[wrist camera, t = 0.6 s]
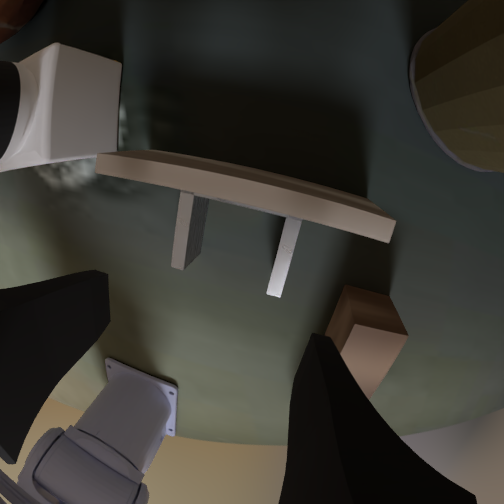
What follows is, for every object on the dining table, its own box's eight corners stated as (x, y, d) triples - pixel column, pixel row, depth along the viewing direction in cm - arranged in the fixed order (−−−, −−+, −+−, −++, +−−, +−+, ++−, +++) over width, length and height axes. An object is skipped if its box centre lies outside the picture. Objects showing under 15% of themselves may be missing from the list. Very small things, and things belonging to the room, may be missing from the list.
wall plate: (362, 214, 17) (388, 243, 11) (151, 164, 18) (94, 172, 13) (367, 198, 16) (396, 220, 11) (153, 149, 18) (97, 153, 12)
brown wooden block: (328, 407, 23) (328, 451, 18) (292, 400, 23) (287, 444, 18) (388, 294, 18) (408, 335, 14) (344, 283, 19) (354, 323, 14)
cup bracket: (284, 276, 19) (280, 297, 16) (189, 250, 20) (171, 266, 17) (305, 197, 17) (305, 206, 14) (201, 173, 18) (182, 177, 15)
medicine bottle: (124, 61, 16) (-11, 25, 5) (119, 155, 18) (-29, 179, 7) (59, 81, 17) (-58, 75, 6) (56, 161, 19) (-65, 189, 8)
